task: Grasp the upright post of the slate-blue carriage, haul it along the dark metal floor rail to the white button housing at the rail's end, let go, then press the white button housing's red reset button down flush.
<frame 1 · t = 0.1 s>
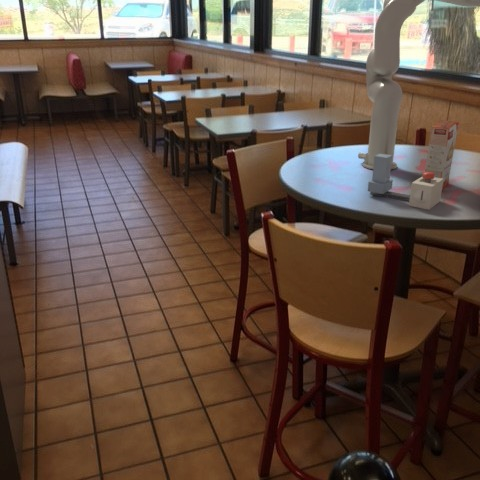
carriage: (381, 173, 160), point 7 cm above the table, slide at 0.0 cm
cracker box: (435, 187, 170), on the table
white button housing: (424, 203, 154), on the table
rail: (392, 197, 160), on the table
reset button: (428, 178, 151), point 8 cm above the table, slide at 0.0 cm
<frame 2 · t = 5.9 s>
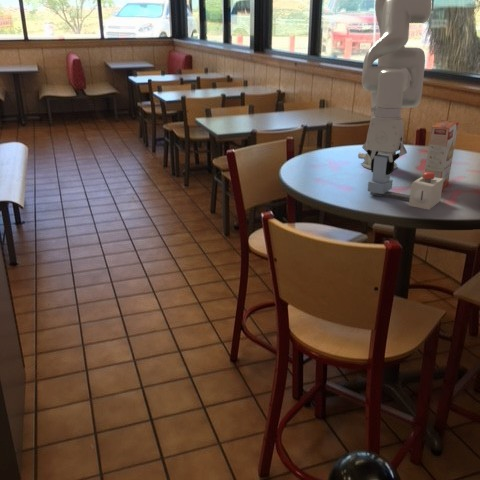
hand: (381, 172, 160), 7 cm above the table, tool pointing down, fingers closed on carriage, 4 cm apart
carriage: (381, 173, 160), point 7 cm above the table, slide at 0.0 cm, touching gripper
everything else where it was.
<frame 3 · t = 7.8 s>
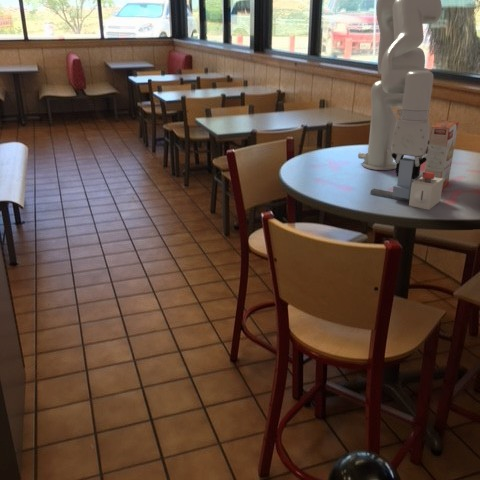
hand: (407, 176, 155), 7 cm above the table, tool pointing down, fingers closed on carriage, 4 cm apart
carriage: (406, 177, 155), point 7 cm above the table, slide at 8.1 cm, touching gripper
everything else where it was.
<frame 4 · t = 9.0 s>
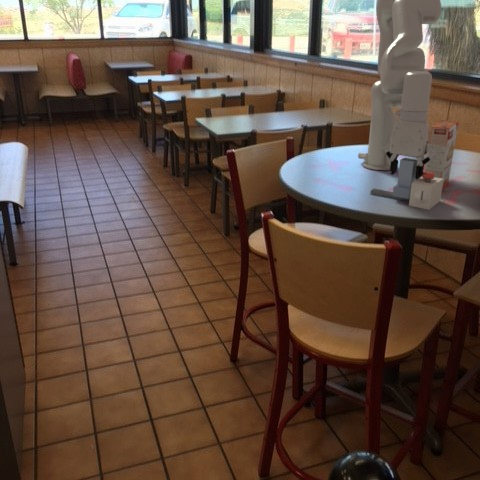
hand: (405, 175, 155), 8 cm above the table, tool pointing down, fingers open, 6 cm apart
carriage: (407, 177, 155), point 7 cm above the table, slide at 8.2 cm
reset button: (428, 178, 151), point 8 cm above the table, slide at 0.0 cm, touching gripper
everything else where it was.
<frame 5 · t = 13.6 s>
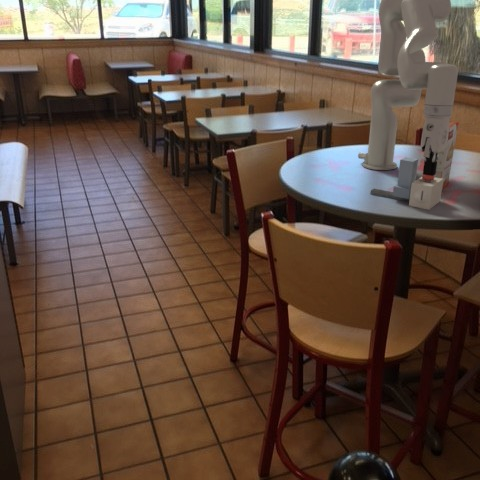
hand: (429, 174, 151), 9 cm above the table, tool pointing down, fingers closed
reset button: (428, 179, 151), point 7 cm above the table, slide at 0.3 cm, touching gripper
everything else where it was.
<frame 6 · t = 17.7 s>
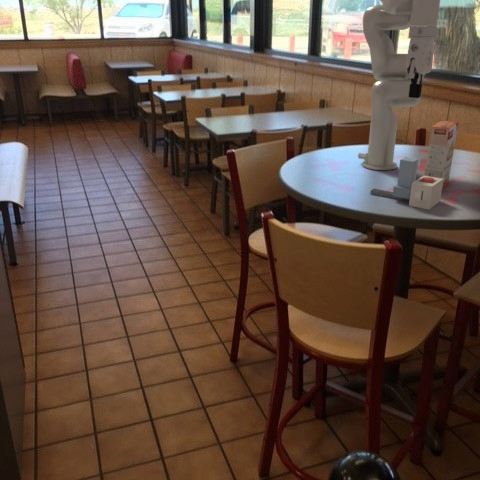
hand: (414, 97, 157), 29 cm above the table, tool pointing down, fingers closed
reset button: (427, 183, 152), point 6 cm above the table, slide at 1.7 cm
everything else where it was.
at the end: carriage slide at 8.2 cm; reset button slide at 1.7 cm; the gripper is holding nothing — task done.
